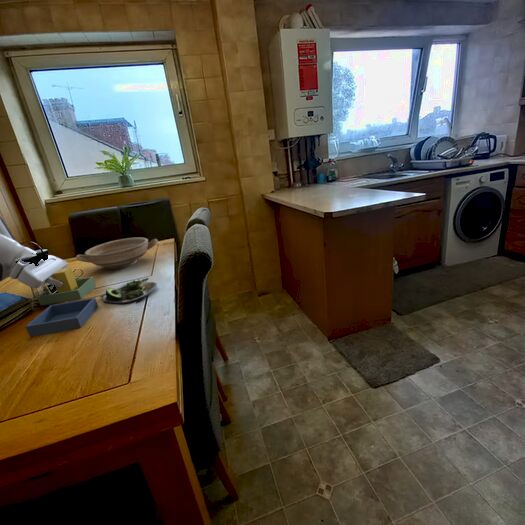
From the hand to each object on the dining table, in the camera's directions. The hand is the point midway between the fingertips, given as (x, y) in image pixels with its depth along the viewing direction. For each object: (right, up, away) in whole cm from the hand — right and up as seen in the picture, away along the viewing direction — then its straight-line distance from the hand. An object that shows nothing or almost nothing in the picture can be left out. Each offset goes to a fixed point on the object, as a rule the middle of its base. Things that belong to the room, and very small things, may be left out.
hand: (66, 281), depth 107 cm
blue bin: (+14, -12, -19) cm, 26 cm away
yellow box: (0, -5, +2) cm, 5 cm away
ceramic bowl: (+5, +6, +34) cm, 35 cm away
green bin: (0, -6, +2) cm, 6 cm away
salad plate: (+27, -5, -4) cm, 28 cm away
